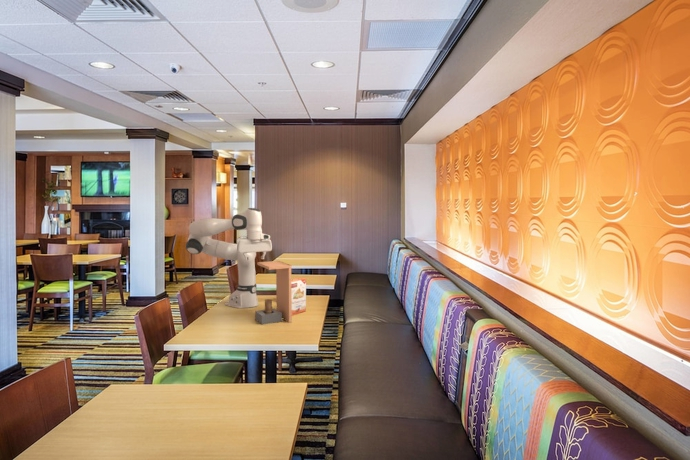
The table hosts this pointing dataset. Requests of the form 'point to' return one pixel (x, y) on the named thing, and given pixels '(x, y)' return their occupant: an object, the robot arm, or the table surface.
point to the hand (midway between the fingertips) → (254, 259)
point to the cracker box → (298, 295)
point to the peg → (268, 306)
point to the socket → (268, 316)
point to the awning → (282, 287)
